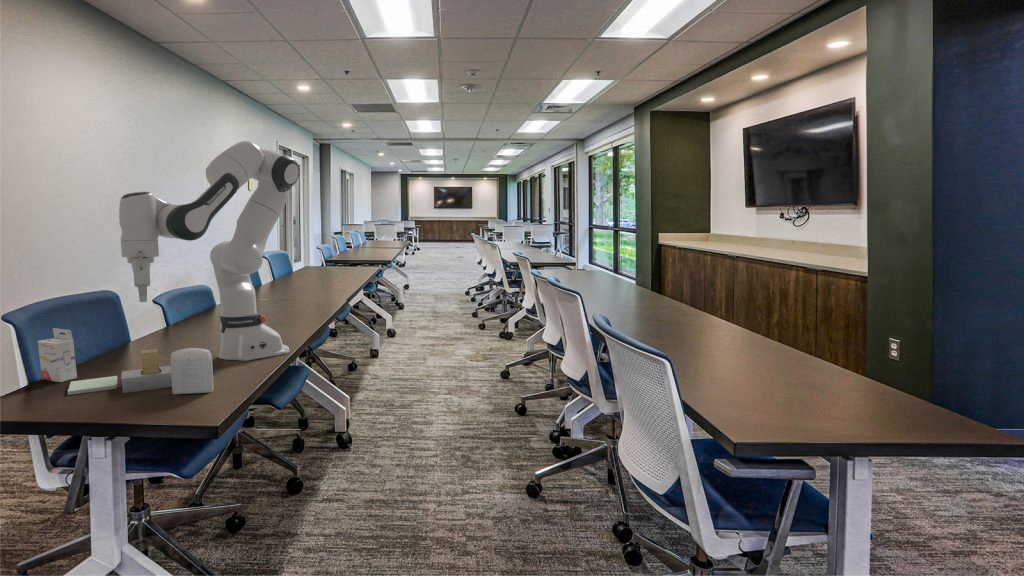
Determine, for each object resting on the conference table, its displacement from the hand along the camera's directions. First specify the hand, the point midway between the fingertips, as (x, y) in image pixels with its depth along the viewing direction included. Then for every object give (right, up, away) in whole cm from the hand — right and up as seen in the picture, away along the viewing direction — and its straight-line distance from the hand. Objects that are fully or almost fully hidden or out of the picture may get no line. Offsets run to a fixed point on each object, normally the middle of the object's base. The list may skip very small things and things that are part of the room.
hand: (143, 299), depth 166 cm
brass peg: (+1, -25, +3) cm, 25 cm away
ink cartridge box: (-30, -24, +9) cm, 40 cm away
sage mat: (-15, -25, +1) cm, 29 cm away
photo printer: (+16, -26, -4) cm, 31 cm away
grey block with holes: (+3, -24, +4) cm, 25 cm away
